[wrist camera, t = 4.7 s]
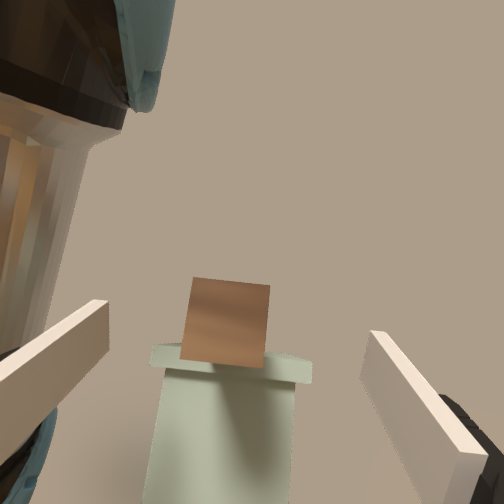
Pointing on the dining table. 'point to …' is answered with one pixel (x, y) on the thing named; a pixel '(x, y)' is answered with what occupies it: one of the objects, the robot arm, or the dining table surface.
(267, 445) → the stand
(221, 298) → the walnut bar
